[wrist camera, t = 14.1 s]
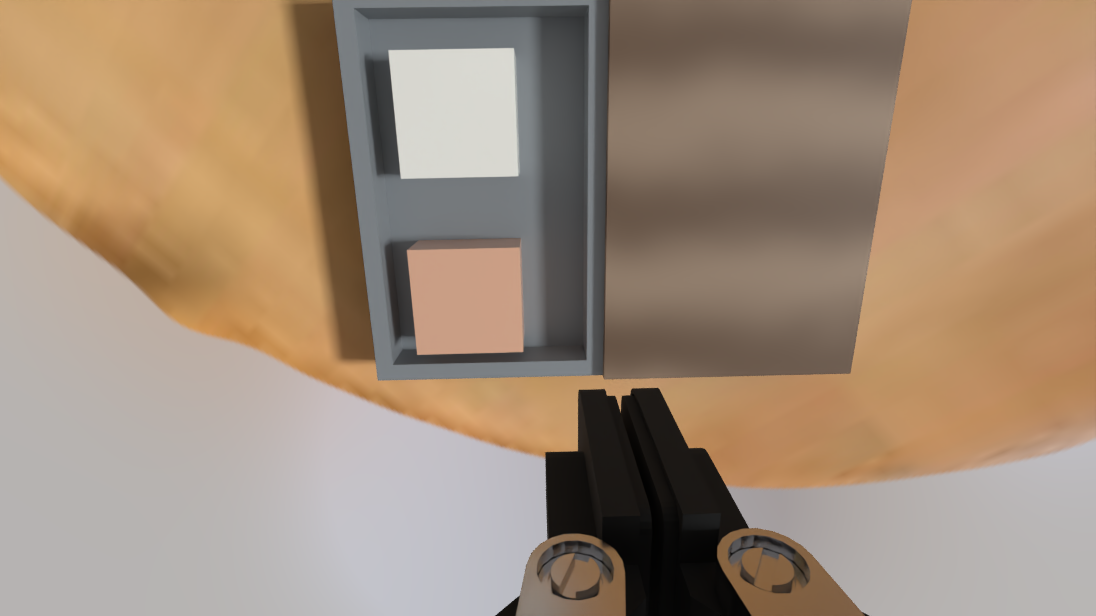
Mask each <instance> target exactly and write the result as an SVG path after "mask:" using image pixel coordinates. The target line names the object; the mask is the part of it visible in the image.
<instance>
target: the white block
mask: <svg viewBox="0 0 1096 616" xmlns="http://www.w3.org/2000/svg"><path fill="white" fill-rule="evenodd" d="M388 52H389V62H390V72H391V82H392V93H393V103H394V113H395V123H396V133H397V144H398V154H399V164H400V174H401V179H415V178H463V177H511V176H519V174H520V165H519V135H518V105H517V76H516V56H515V51H514V48H486V49H428V50H388Z"/></svg>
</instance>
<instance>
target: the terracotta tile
mask: <svg viewBox="0 0 1096 616" xmlns="http://www.w3.org/2000/svg"><path fill="white" fill-rule="evenodd" d="M407 256H408V266H409V276H410V287H411V297H412V307H413V317H414V327H415V337H416V347H417V355H430V354H468V353H506V352H523V349H524V309H523V280H522V251H521V238H498V239H455V240H418V241H417V242H416V243H415V244H414V245H412V246H411V247H410V248H409V249H408V250H407Z"/></svg>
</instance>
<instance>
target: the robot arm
mask: <svg viewBox="0 0 1096 616" xmlns="http://www.w3.org/2000/svg"><path fill="white" fill-rule="evenodd" d="M546 502H547V503H546V504H547V505H546V506H547V538H548V539H547V540H546V541H545V542H543V543H541V544H540V545H539V546H538V547H537V548H536V549H535V550H534V551H533V552H532V553H531V555H530V557H529V560H528V562H527V565H526V569H525V574H524V579H523V583H522V588H521V593H520V596H519V597H517V598H516V599H515V600H514V601H512V602H511V603H510V604H509V605H508V606H506V607H505V608H504V609H503V610H502V611H500V612H499V613H498V614H497V615H496V616H869V615H867V614H865V613H863V612H861V611H860V610H859V608H858V607H857V606H856V605H855V604H854V603H853V602H852V600H851V599H850V598H849V597H848V596H847V595H846V594H845V592H844V591H843V590H842V589H841V588H840V587H839V585H838V584H837V583H836V582H835V581H834V580H833V579H832V577H831V576H830V575H829V574H828V573H827V572H826V571H825V569H824V568H823V567H822V566H821V565H820V564H819V562H818V561H817V560H816V559H815V558H814V557H813V556H812V555H811V554H810V553H809V552H808V551H807V550H806V549H805V548H804V547H803V546H801V545H800V544H798V543H796V542H795V541H793V540H792V539H790V538H788V537H786V536H784V535H781V534H778V533H776V532H773V531H769V530H763V529H758V528H751V529H750V528H749V527H748V525H747V524H746V522H745V520H744V518H743V517H742V514H741V513H740V511H739V509H738V507H737V505H736V503H735V502H734V500H733V498H732V496H731V494H730V493H729V491H728V489H727V487H726V485H725V483H724V482H723V480H722V478H721V476H720V474H719V473H718V471H717V469H716V467H715V465H714V463H713V462H712V460H711V458H710V456H709V454H708V453H707V451H706V450H705V449H703V448H688V446H687V444H686V442H685V440H684V438H683V436H682V434H681V432H680V430H679V428H678V426H677V424H676V422H675V420H674V418H673V416H672V414H671V412H670V410H669V408H668V406H667V404H666V402H665V400H664V398H663V396H662V394H661V392H660V390H659V388H639V389H632V390H631V394H630V395H629V396H622V400H621V413H620V409H619V406H618V403H617V400H616V397H615V396H607V395H606V391H605V389H598V390H579V394H578V451H574V452H546Z"/></svg>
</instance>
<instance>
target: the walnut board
mask: <svg viewBox="0 0 1096 616" xmlns="http://www.w3.org/2000/svg"><path fill="white" fill-rule="evenodd" d="M911 3H912V0H609V23H608V85H607V148H606V210H605V273H604V336H603V377H604V379H640V378H682V377H723V376H765V375H807V374H848V373H850V372H851V366H852V360H853V354H854V348H855V342H856V336H857V330H858V324H859V318H860V312H861V306H862V300H863V294H864V288H865V281H866V275H867V269H868V263H869V257H870V251H871V245H872V239H873V233H874V227H875V221H876V215H877V209H878V203H879V197H880V191H881V184H882V178H883V172H884V166H885V160H886V154H887V148H888V142H889V136H890V130H891V124H892V118H893V112H894V106H895V100H896V94H897V87H898V81H899V75H900V69H901V63H902V57H903V51H904V45H905V39H906V33H907V27H908V21H909V15H910V9H911Z"/></svg>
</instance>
